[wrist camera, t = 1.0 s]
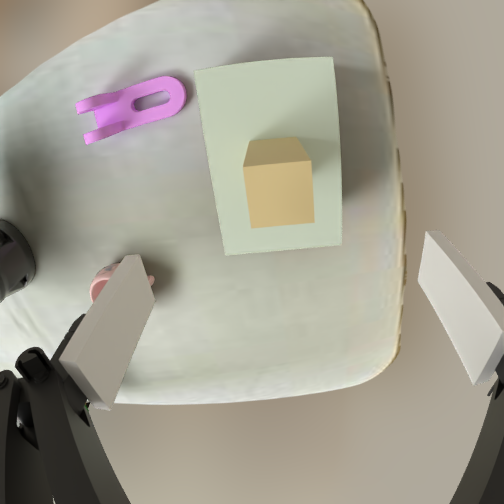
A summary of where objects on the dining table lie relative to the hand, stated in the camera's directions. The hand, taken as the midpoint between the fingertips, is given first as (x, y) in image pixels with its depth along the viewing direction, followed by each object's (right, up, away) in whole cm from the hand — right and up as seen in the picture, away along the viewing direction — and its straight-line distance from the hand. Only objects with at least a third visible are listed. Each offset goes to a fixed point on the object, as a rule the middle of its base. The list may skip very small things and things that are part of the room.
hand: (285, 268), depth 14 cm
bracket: (-16, +20, +23) cm, 35 cm away
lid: (+1, +11, +18) cm, 21 cm away
